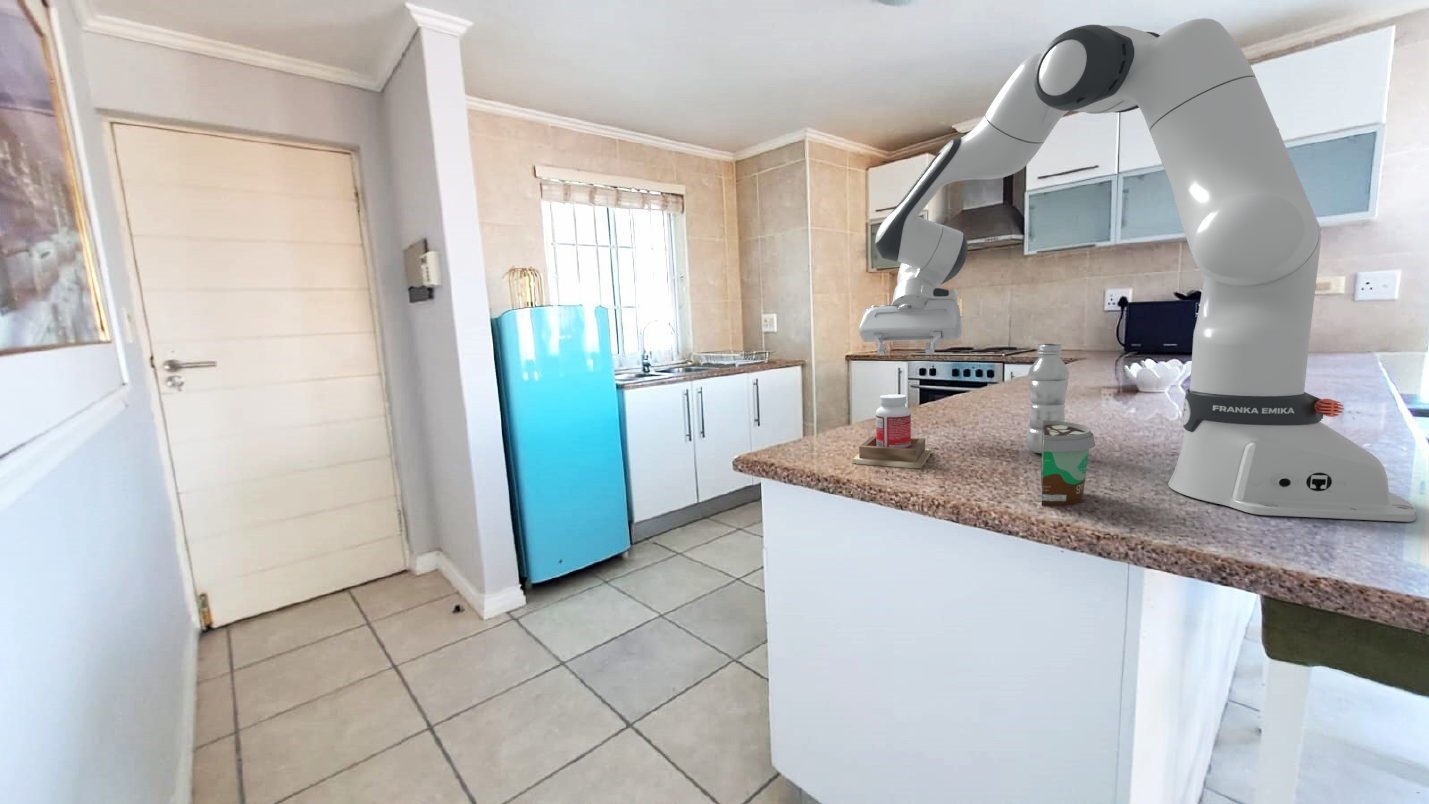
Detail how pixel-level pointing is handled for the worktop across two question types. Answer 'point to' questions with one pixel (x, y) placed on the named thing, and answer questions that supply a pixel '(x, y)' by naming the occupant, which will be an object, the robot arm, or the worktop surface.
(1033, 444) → the plastic bottle
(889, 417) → the pill bottle
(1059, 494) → the food container
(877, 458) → the brown wooden square tray
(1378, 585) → the worktop surface
